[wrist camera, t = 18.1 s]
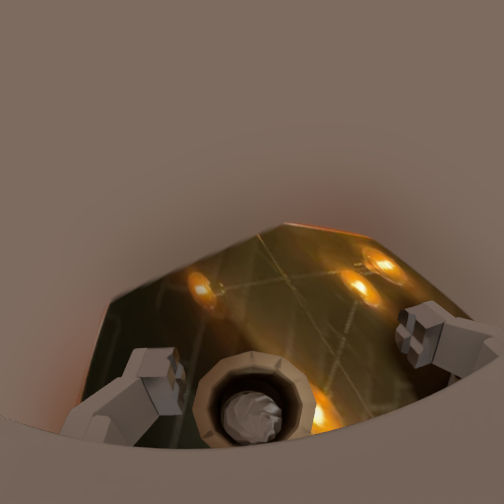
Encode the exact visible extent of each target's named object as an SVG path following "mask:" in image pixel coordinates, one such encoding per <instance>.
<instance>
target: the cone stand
mask: <svg viewBox="0 0 504 504" xmlns="http://www.w3.org/2000/svg"><path fill="white" fill-rule="evenodd" d="M245 391H256V392H260V393H263V394H264V395H266V396H268V397H270V398H271V399H272V400H273V401H274V402H275V403H276V404H277V406H278V407H279V408H280V409H281V412H282V417H281V419H282V423H281V430H280V431H279V433H277V434H276V436H275V438H274V439H272V440H271V441H269V442H268V443H272V442H279V441H285V440H290V439H296V438H301V437H306V436H308V435H309V434H310V433H311V428H312V423H313V418H314V413H315V408H316V401H315V398H314V396H313V393H312V390H311V388H310V385H309V382H308V380H307V377H306V375H304V374H303V373H302V372H301V371H299V370H298V369H297V368H296V367H294V366H293V365H292V364H291V363H289V362H288V361H287V360H286V359H285V358H283V357H281V356H276V355H271V354H266V353H261V352H256V351H249V352H245V353H242V354H239V355H235V356H232V357H228V358H224V359H221V360H220V361H219V362H218V363H217V364H216V365H215V366H214V367H213V368H212V369H211V370H210V371H209V372H208V373H207V374H206V375H205V376H204V377H203V378H202V379H201V380H200V381H199V385H198V388H197V392H196V396H195V400H194V403H193V407H192V411H193V415H194V418H195V421H196V424H197V427H198V430H199V433H200V436H201V439H202V440H204V441H205V442H206V443H207V444H208V445H209V446H210V447H212V448H228V447H240V446H245V445H241V444H239V443H238V442H236V441H235V440H234V439H233V438H232V437H231V436H230V435H229V434H227V432H226V431H225V430H224V428H223V426H222V423H221V412H222V409H223V406H224V405H225V403H226V402H227V401H228V400H229V399H230V398H231V397H232V396H234V395H236V394H238V393H240V392H245Z"/></svg>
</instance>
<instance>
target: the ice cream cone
mask: <svg viewBox="0 0 504 504" xmlns="http://www.w3.org/2000/svg"><path fill="white" fill-rule="evenodd" d="M281 417H282V412H281V409H280V408H279V407H278V406H277V404H276V403H275V402H274V401H273V400H272V399H271V398H270V397H268V396H266V395H264V394H263V393H260V392H256V391H245V392H240V393H238V394H236V395H234V396H232V397H231V398H230V399H229V400H228V401H227V402H226V403H225V405H224V406H223V409H222V412H221V423H222V426H223V428H224V430H225V431H226V432H227V434H229V435H230V436H231V437H232V438H233V439H234V440H235V441H236V442H238V443H239V444H241V445H245V446H249V445H258V444H265V443H268V442H269V441H271V440H272V439H274V438H275V436H276V434H277V433H279V431H280V430H281V423H282V419H281Z"/></svg>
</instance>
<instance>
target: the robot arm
mask: <svg viewBox="0 0 504 504" xmlns="http://www.w3.org/2000/svg"><path fill="white" fill-rule="evenodd" d="M398 321H399V323H400V325H399V326H398V327H397V329H396V333H395V341H396V345H397V347H398V349H399V350H400V351H401V352H402V353H405V354H407V360H408V361H409V362H410V363H411V364H412V366H413V367H414V368H415V369H416V368H419V367H422V366H424V365H427V364H430V363H432V362H433V363H432V364H434V365H436V366H438V367H440V368H442V369H445V370H447V371H449V372H451V373H453V374H455V375H457V376H459V377H461V378H463V379H461V380H460V381H458V382H456V383H454V384H452V385H450V386H448V387H446V388H444V389H442V390H440V391H438V392H436V393H434V394H432V395H430V396H428V397H425V398H423V399H421V400H419V401H416V402H414V403H412V404H409V405H407V406H404V407H402V408H399V409H397V410H394V411H392V412H389V413H386V414H384V415H381V416H378V417H375V418H372V419H369V420H366V421H363V422H360V423H356V424H353V425H350V426H346V427H343V428H339V429H335V430H331V431H327V432H323V433H319V434H315V435H310V436H306V437H301V438H296V439H290V440H285V441H279V442H272V443H265V444H258V445H249V446H240V447H228V448H211V449H159V448H143V447H133V445H134V444H135V443H136V442H137V441H138V440H139V439H140V438H141V436H142V435H143V434H144V433H145V432H146V431H147V430H148V429H149V427H150V426H151V425H152V424H153V423H154V422H155V421H156V419H157V418H158V417H159V416H158V415H183V407H184V398H183V396H182V394H184V393H185V392H186V376H185V371H184V368H183V366H182V365H181V364H179V359H180V355H179V353H178V350H177V348H176V347H163V348H136V349H134V350H133V352H132V354H131V356H130V359H129V361H128V363H127V366H126V368H125V370H124V373H123V375H122V377H118V378H116V379H115V380H113V381H112V382H110V383H109V384H108V385H106V386H105V387H103V388H102V389H100V390H99V391H98V392H96V393H95V394H93V395H92V396H90V397H89V398H88V399H86V400H85V401H83V402H82V403H80V404H79V405H77V406H76V407H74V408H73V409H72V410H70V412H69V414H68V416H67V418H66V420H65V423H64V425H63V427H62V429H61V431H60V433H59V434H56V433H52V432H48V431H45V430H41V429H38V428H34V427H31V426H28V425H25V424H22V423H19V422H16V421H13V420H11V419H7V418H5V417H3V416H0V504H504V328H499V327H495V326H491V325H487V324H483V323H479V322H475V321H471V320H467V319H463V318H459V317H458V318H455V317H454V316H452V315H451V314H450V313H448V312H447V311H446V310H444V309H443V308H442V307H441V306H439V305H438V304H437V303H435V302H434V301H428V302H425V303H422V304H420V305H417V306H413V307H410V308H406V309H403V310H401V311H400V312H399V315H398Z"/></svg>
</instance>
